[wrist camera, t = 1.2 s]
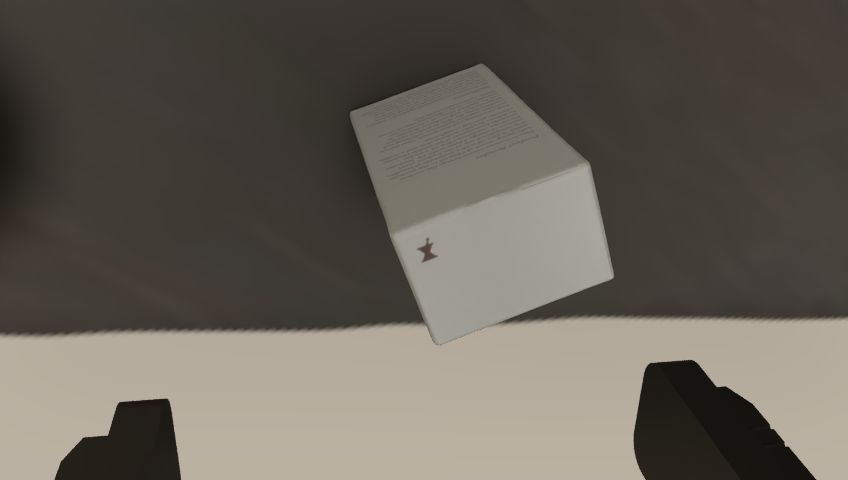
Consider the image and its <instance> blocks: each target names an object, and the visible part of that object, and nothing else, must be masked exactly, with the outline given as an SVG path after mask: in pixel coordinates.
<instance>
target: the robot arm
mask: <svg viewBox="0 0 848 480" xmlns="http://www.w3.org/2000/svg"><path fill="white" fill-rule="evenodd" d="M634 450H635V456H636V460H637V463H638V466H639V468H640V470H641V472H642V474H643V476H644V478H645V479H646V480H816V479H815V478H814V476H813V475H812V474H811V473H810V472H809V471H808V469H807V468H806V467H805V466H804V465H803V463H802V462H801V461H800V460H799V459H798V457H797V456H796V455H795V454H794V453H793V452H792V450H791V449H790V448H789V447H785V444H784V441H783V440H782V439H781V437H780V436H779V435H778V434H777V433H776V431H775V430H774V429H771V428H770V424H769V423H768V422H767V421H766V419H765V418H764V417H763V416H762V415H761V414H760V413H759V411H758V410H757V409H756V408H755V406H754V405H753V404H752V403H750V402H749V401H747V400H746V399H744V398H743V397H741V396H740V395H738V394H737V393H735V392H733V391H732V390H730V389H729V388H727V387H726V386H725V387H716V386H715V385H714V383H713V382H712V381H711V379H710V378H709V377H708V376H707V375H706V373H705V372H704V371H703V370H702V368H701V367H700V366H699V365H698V364H697V363H696V362H695V361H693V360H684V361H672V362H658V363H650V364H649V365H648V366H647V367H646V369H645V372H644V377H643V383H642V389H641V394H640V400H639V406H638V412H637V419H636V424H635V430H634ZM55 480H181V475H180V467H179V460H178V453H177V446H176V440H175V432H174V425H173V418H172V412H171V406H170V402H169V400H168V399H154V400H141V401H129V402H119V404H118V405H117V407H116V411H115V414H114V417H113V421H112V424H111V427H110V431H109V434H108V436H97V437H85V438H83V439H82V440H81V441H80V442H79V443H78V444H77V445H76V446H75V447H74V449H72V450H71V452H70V453H69V454H68V455H67V456H66V457H65V458H64V459H63V460H62V461H61V463H60V466H59V469H58V471H57V474H56V477H55Z"/></svg>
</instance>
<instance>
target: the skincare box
mask: <svg viewBox="0 0 848 480" xmlns="http://www.w3.org/2000/svg"><path fill="white" fill-rule="evenodd" d="M350 119H351V122H352V125H353V128H354V131H355V134H356V136H357V139H358V142H359V145H360V148H361V151H362V154H363V157H364V160H365V163H366V166H367V169H368V172H369V175H370V178H371V180H372V183H373V186H374V189H375V192H376V195H377V198H378V201H379V203H380V206H381V209H382V212H383V214H384V217H385V220H386V224H387V227H388V231H389V234H390V238H391V241H392V243H393V245H394V248H395V250H396V252H397V255H398V257H399V260H400V262H401V265H402V267H403V270H404V272H405V274H406V277H407V279H408V282H409V284H410V287H411V289H412V292H413V294H414V297H415V299H416V301H417V304H418V306H419V309H420V311H421V314H422V316H423V319H424V321H425V324H426V326H427V328H428V331H429V333H430V336H431V338H432V340H433V342H434V343H435V344H436V345H442V344H445V343H447V342H449V341H452V340H455V339H457V338H460V337H463V336H465V335H467V334H470V333H473V332H475V331H478V330H481V329H483V328H486V327H489V326H491V325H494V324H496V323H499V322H501V321H504V320H507V319H509V318H512V317H514V316H517V315H519V314H522V313H524V312H527V311H530V310H532V309H535V308H537V307H540V306H542V305H545V304H547V303H550V302H553V301H555V300H558V299H561V298H563V297H566V296H568V295H571V294H574V293H576V292H579V291H581V290H584V289H586V288H589V287H592V286H594V285H597V284H600V283H603V282H605V281H609V280H611V279H613V278H614V273H613V268H612V264H611V259H610V254H609V249H608V245H607V240H606V235H605V231H604V226H603V222H602V217H601V212H600V207H599V202H598V198H597V193H596V189H595V184H594V180H593V175H592V171H591V166H590V163H589V162H588V161H587V160H585V159H584V158H583V157H582V156H581V155H580V154H579V153H578V152H576V151H575V150H574V149H573V148H572V147H571V146H570V145H569V144H568V143H567V142H565V141H564V140H563V139H562V138H561V137H560V136H559V135H558V134H557V133H556V132H555V131H554V130H553V129H551V128H550V127H549V126H548V125H547V124H546V123H545V122H544V121H543V120H542V119H541V118H540V117H539V116H538V115H537V114H536V113H535V112H534V111H533V110H532V109H530V108H529V107H528V106H527V105H526V104H525V103H524V102H523V101H522V100H521V99H520V98H519V97H518V96H517V95H516V94H515V93H514V92H513V91H512V90H511V89H510V88H509V87H508V86H507V85H506V84H505V83H503V82H502V81H501V80H500V79H499V78H498V77H497V76H496V75H495V74H494V73H493V72H492V71H491V70H490V69H489V68H488V67H487V66H485V65H484V64H478V65H476V66H473V67H471V68H468V69H465V70H463V71H460V72H457V73H454V74H452V75H449V76H446V77H443V78H441V79H438V80H435V81H432V82H430V83H427V84H424V85H421V86H419V87H416V88H414V89H411V90H408V91H406V92H403V93H400V94H397V95H395V96H392V97H389V98H387V99H384V100H381V101H379V102H376V103H373V104H370V105H368V106H365V107H362V108H359V109H356V110H353V111H352V112H350Z"/></svg>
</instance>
